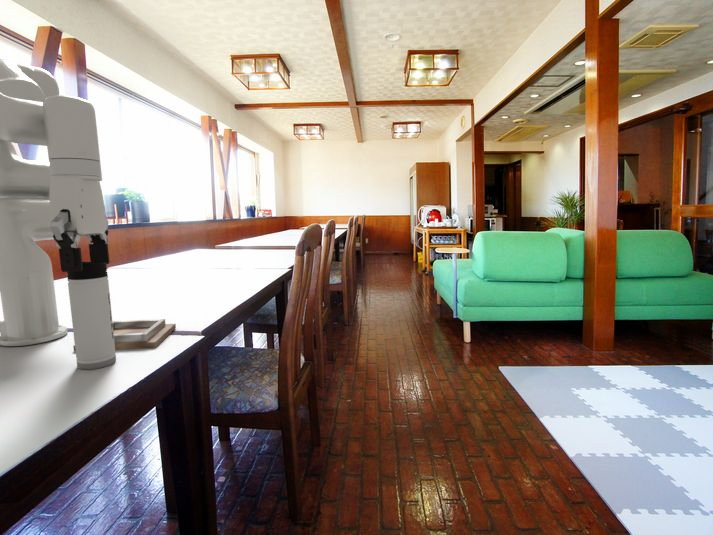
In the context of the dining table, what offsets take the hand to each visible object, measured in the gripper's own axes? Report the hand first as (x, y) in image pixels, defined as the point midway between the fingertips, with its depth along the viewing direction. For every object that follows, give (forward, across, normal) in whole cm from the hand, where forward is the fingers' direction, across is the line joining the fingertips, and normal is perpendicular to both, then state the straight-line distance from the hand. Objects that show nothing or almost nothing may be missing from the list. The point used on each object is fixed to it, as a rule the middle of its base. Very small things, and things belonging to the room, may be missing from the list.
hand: (87, 267), depth 75 cm
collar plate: (+18, -16, -1) cm, 24 cm away
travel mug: (+19, 0, -1) cm, 19 cm away
